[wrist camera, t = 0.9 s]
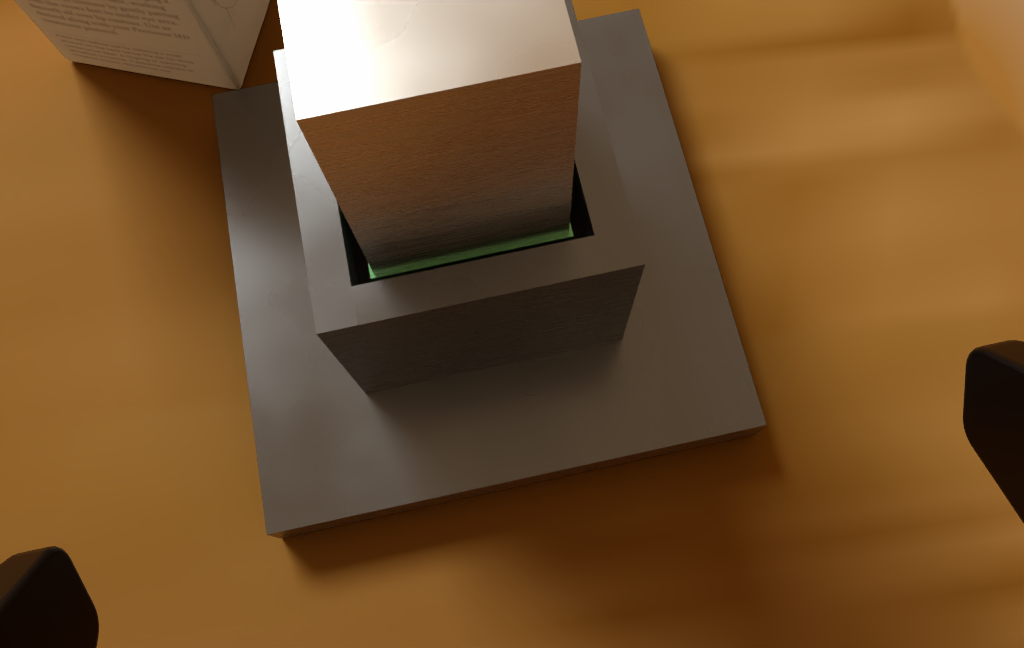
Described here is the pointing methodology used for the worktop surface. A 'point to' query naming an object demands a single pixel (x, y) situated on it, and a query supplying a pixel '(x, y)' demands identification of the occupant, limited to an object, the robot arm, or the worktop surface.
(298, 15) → the white tall block
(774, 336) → the worktop surface
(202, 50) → the small box
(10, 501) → the worktop surface
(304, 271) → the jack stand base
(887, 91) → the worktop surface
